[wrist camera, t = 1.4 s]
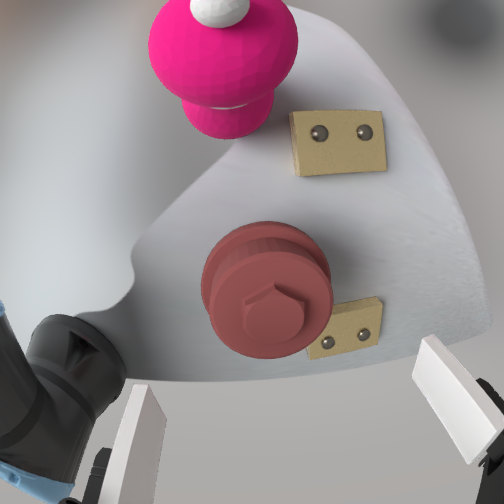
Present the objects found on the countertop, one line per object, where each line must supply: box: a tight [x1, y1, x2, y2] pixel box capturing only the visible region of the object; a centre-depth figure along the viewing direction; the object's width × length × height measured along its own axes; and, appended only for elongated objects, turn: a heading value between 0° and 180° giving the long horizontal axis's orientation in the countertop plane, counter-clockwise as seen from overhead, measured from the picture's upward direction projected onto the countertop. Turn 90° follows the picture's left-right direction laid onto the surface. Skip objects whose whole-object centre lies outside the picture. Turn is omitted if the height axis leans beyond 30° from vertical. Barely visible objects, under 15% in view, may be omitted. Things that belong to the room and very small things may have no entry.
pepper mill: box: [148, 0, 298, 139], centre depth 14 cm, size 7×7×20 cm
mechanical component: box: [201, 221, 333, 359], centre depth 23 cm, size 12×10×10 cm
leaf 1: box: [306, 297, 383, 360], centre depth 31 cm, size 9×6×2 cm, turn 97°
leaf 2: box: [289, 110, 387, 176], centre depth 24 cm, size 9×6×2 cm, turn 97°
